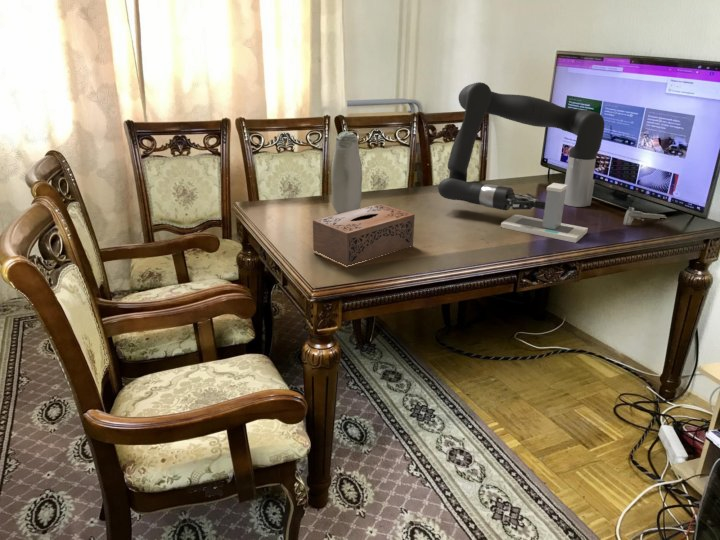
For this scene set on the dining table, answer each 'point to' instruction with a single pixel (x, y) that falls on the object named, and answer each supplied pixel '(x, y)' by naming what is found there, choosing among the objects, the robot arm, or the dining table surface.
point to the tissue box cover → (363, 233)
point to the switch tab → (554, 205)
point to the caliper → (638, 216)
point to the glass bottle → (346, 173)
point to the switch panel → (535, 227)
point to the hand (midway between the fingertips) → (547, 206)
